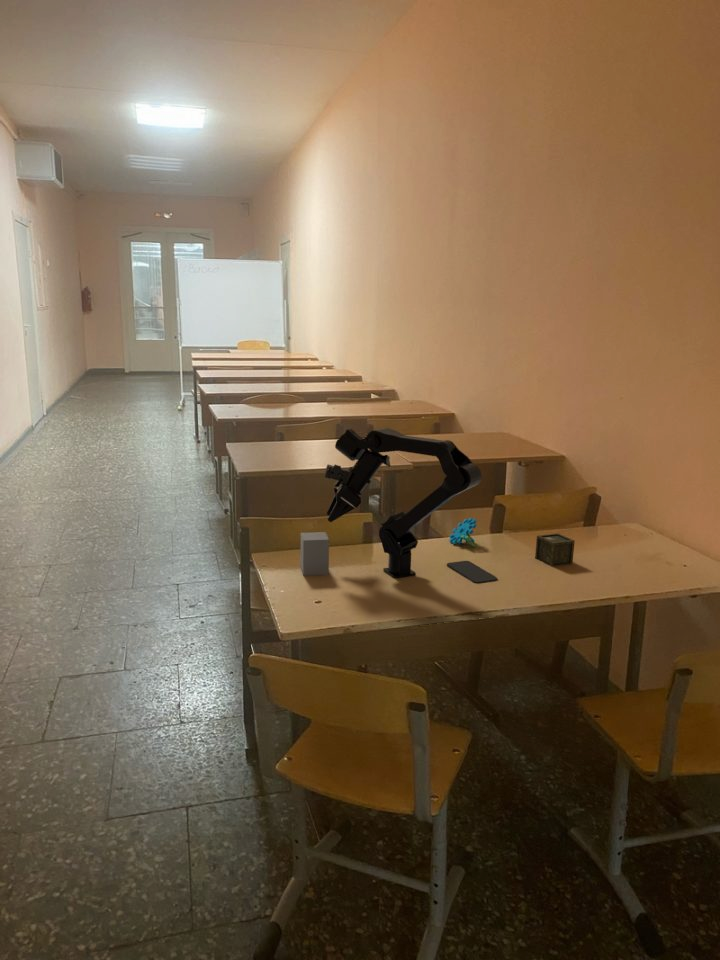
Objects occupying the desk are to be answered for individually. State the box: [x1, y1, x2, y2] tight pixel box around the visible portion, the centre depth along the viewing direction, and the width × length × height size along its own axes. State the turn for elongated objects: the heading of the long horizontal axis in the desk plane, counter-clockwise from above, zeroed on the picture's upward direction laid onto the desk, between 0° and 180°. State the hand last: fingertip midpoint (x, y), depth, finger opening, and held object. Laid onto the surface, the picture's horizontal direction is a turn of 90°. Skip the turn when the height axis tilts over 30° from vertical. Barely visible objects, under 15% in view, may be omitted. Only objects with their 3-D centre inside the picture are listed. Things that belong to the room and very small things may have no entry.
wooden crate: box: [534, 533, 575, 567], centre depth 198 cm, size 7×7×7 cm
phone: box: [446, 560, 498, 584], centre depth 188 cm, size 7×1×15 cm
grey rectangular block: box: [299, 531, 330, 577], centre depth 185 cm, size 7×7×10 cm
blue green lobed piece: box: [449, 517, 477, 548], centre depth 212 cm, size 11×6×10 cm
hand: (328, 518), depth 186 cm, fingers open, 9 cm apart
